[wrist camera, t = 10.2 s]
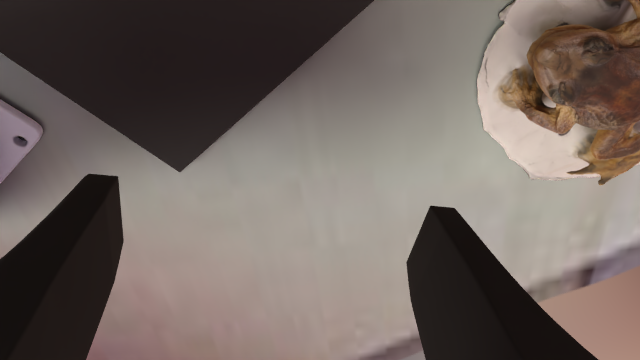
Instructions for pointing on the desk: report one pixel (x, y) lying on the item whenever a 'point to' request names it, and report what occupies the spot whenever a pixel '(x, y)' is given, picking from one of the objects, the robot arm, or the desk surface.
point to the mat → (168, 59)
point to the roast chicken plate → (565, 87)
